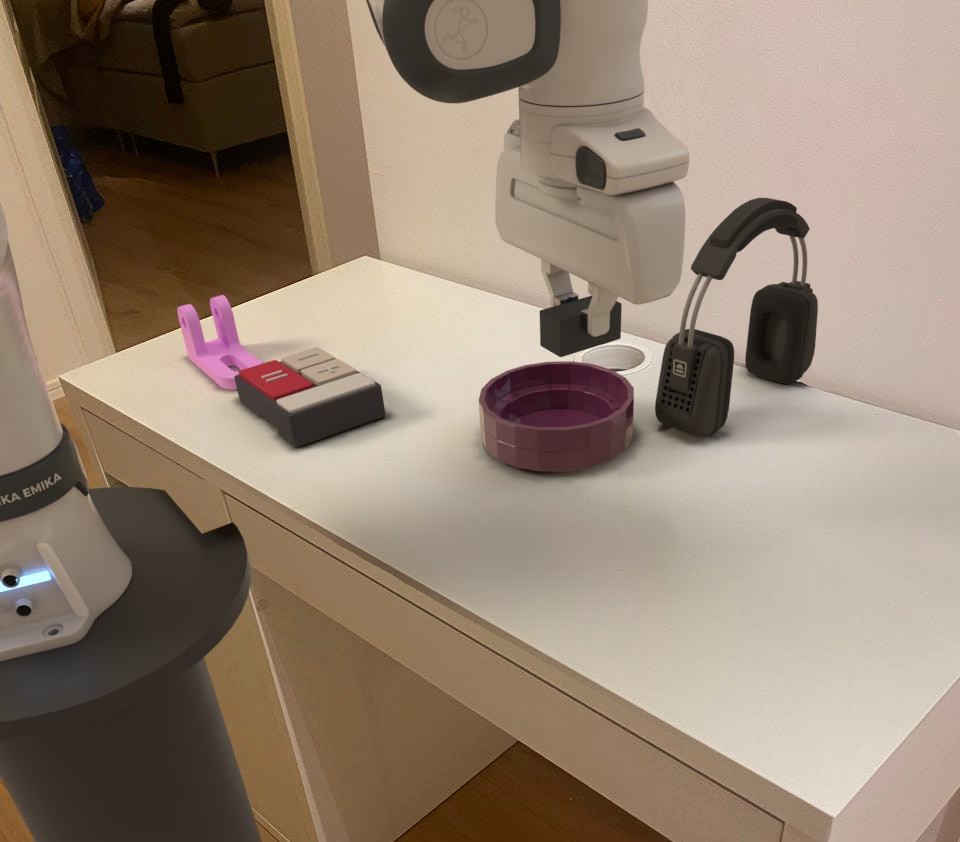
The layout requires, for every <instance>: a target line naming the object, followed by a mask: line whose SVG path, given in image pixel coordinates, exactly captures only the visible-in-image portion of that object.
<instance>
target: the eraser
mask: <svg viewBox="0 0 960 842" xmlns="http://www.w3.org/2000/svg"><path fill="white" fill-rule="evenodd" d="M592 296H593V295H589V296H585V297H582V298H578V300H575V301H571V302H568V303H564V304H561V305H557V306H554V307H551V306H550V307H547V308H544V309H540V310H539V343H540V347H542V348H544V349H545V350H547V351H548V352H550V353H552V354H553V355H555V356H557V357H559V358H565V357H567V356H571V355H573V354H576V353H579V352H582V351H583V352H584V351H585V350H589V349H593V348H595V347H599V346H602V345H605V344H609V343H612V342H615V341H619V340H621V339H622V338H621V337H622V310H623V309H622V308H623V307H622V305H623V304H622V302H620V301H618V300H616V302H615V304H614V306H613V308H612V310H611V311H610V328H609V330H608V332H607V333H606V334H603V335H599V336H596V337H594V336H592V335H590V334H588V333H586V332H585V331H583V330H582V329H581V323H582V321H581V311H582V310H585V309H588V308H589V305H590V302H591V299H592Z"/></svg>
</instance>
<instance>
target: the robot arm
mask: <svg viewBox="0 0 960 842" xmlns="http://www.w3.org/2000/svg"><path fill="white" fill-rule="evenodd" d="M365 2H366V4H367V8H368V11H369V13H370V17H371V20H372V22H373V25H374V28H375V30H376V31H377V34H378V36H379V38H380V40H381V43H382V44H383V46H384V47H385V50H386V52H387V54H388V57H389V59H390V61H391V64H392V65H393V67H394V69H395V70H396V72H397V74H398V75H399V76H400V77H401V78H402V80H403V81H404V82H405V83H406V84H407V85H408V86H409V87H410V88H411V89H412V90H414V91H415V92H417V93H418V94H420V95H421V96H423V97H425V98H427V99H429V100H432V101H435V102H437V103H438V102H439V103H443V104H465V103H470V102H473V101H477V100H480V99H484V98H488V97H491V96H495V95H498V94H502V93H505V92H508V91H511V90H514V89H518V119H514V120H513V121H512V123H511V124H510V126H509V127H508V128H507V131H506V132H505V133H504V135H503V150H502V151H501V152H500V154H499V157H498V159H497V166H496V179H495V180H496V181H495V226H496V230H497V232H498V235H499V237H500V239H501V242H502V241H503V242H504V243H505V244H508V245H510V246H513V247H514V248H516V249H519V250H521V251H523V252H525V253H526V254H529V255H531V256H533V257H535V258H537V259H540V271H541V274H542V277H543V280H544V282H545V286H546V289H547V291H548V294H549V297H550V298H549V299H550V307H554V306H557V305H561V304H564V303H568V302H571V301H575V300H578V299H579V294H577V293H575V292H574V290H573V284H572V281H571V276H570V275H573V276H575V277H577V278H579V279H581V280H583V281H585V282H587V293H588V294H589V296H592V295H593V296H592V299H591V302H590V305H589V308H588V309H585V310H582V311H581V321H582V323H581V329H582V330H583V331H585V332H586V333H588V334H590V335H592V336H594V337H596V336H599V335H603V334H606V333H607V332H608V330H609V328H610V311H611V310H612V308H613V306H614V304H615V302H616V301H618V298H621V299H623V300H625V301H627V302H629V303H631V304H634V305H637V306H640V305H644V304H649V303H651V302H656V301H659V300H662V299H664V298H668V297H670V296H671V295H672V294H673V293H674V291H675V290H676V289H677V287H678V286H679V284H680V282H681V278H682V273H683V265H684V251H685V236H686V205H685V199H684V196H683V193H682V191H681V189H680V187H679V186H678V185H677V183H676V181H679V180H683V179H684V178H686V177H687V175H688V172H689V168H690V167H689V166H690V152H689V149H688V147H687V146H686V145H685V144H684V143H683V142H682V140H680V139H679V138H678V137H676V135H674V134H673V133H672V132H671V131H669V130H668V129H667V128H666V127H665V126H664V125H663V124H662V123H661V122H660V121H659V120H658V119H657V117H656V116H655V115H654V114H653V112H652V111H651V110H650V109H649V108H647V107H645V79H644V74H643V69H642V65H641V45H642V40H643V34H644V32H645V28H646V25H647V21H648V11H649V5H648V4H649V0H365ZM8 233H9V232H8V224H7V219H6V215H5V212H4V209H3V207H2V204H1V202H0V661H5V660H9V659H13V658H17V657H21V656H25V655H30V654H34V653H38V652H42V651H46V650H50V649H55V648H59V647H63V646H67V645H71V644H74V643H76V642H78V641H80V640H81V639H82V638H83V637H84V636H85V635H86V634H87V633H88V631H89V630H90V628H91V626H92V624H93V623H94V621H95V619H96V618H97V617H98V616H99V615H100V614H101V613H102V612H104V611H105V610H106V609H107V608H109V607H110V606H111V605H112V604H113V603H114V602H116V601H117V600H118V598H119V597H120V596H121V595H122V594H123V593H124V591H125V590H126V588H127V587H128V585H129V583H130V580H131V577H132V564H131V561H130V560H129V558H128V557H127V555H126V554H125V553H124V552H123V551H122V549H121V548H120V547H119V545H118V544H117V543H116V541H115V540H114V538H113V537H112V535H111V534H110V532H109V531H108V529H107V527H106V525H105V524H104V522H103V520H102V519H101V517H100V515H99V513H98V511H97V509H96V507H95V505H94V503H93V501H92V499H91V497H90V495H89V489H90V488H89V484H88V476H87V472H86V470H85V467H84V464H83V461H82V459H81V456H80V454H79V449H78V447H77V445H76V443H75V440H74V438H73V437H72V436H71V434H70V432H69V431H68V428H67V427H66V425H65V424H63V423H62V422H61V421H60V419H59V416H58V414H57V410H56V408H55V407H56V406H55V404H54V402H53V399H52V396H51V394H50V391H49V389H48V385H47V383H46V380H45V377H44V375H43V372H42V369H41V366H40V363H39V361H38V358H37V355H36V352H35V348H34V346H33V342H32V339H31V337H30V336H31V335H30V332H29V328H28V325H27V320H26V315H25V310H24V304H23V299H22V294H21V289H20V284H19V280H18V275H17V271H16V266H15V263H14V259H13V258H14V257H13V255H12V254H13V253H12V250H11V247H10V243H9V235H8Z"/></svg>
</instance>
